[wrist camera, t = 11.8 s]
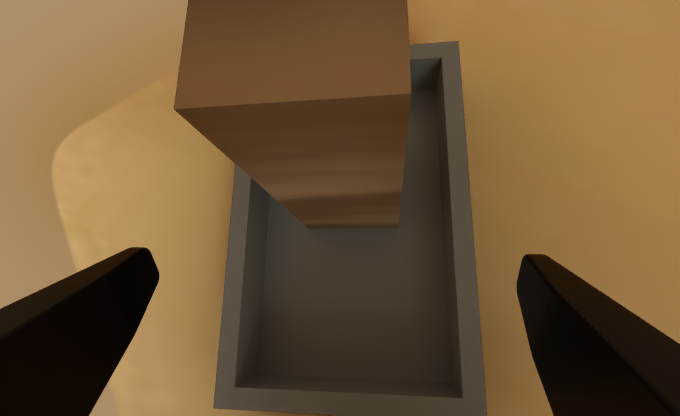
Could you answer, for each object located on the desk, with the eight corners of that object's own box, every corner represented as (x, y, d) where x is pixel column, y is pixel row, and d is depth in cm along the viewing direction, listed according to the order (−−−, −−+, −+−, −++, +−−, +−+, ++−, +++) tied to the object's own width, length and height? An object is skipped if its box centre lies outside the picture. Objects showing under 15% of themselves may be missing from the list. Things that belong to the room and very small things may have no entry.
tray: (468, 398, 16) (487, 424, 13) (246, 388, 18) (213, 408, 14) (447, 84, 20) (458, 41, 17) (267, 95, 22) (244, 57, 18)
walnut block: (398, 227, 18) (410, 93, 6) (308, 228, 19) (173, 109, 7) (395, 142, 19) (402, -101, 8) (311, 146, 20) (198, -73, 8)
